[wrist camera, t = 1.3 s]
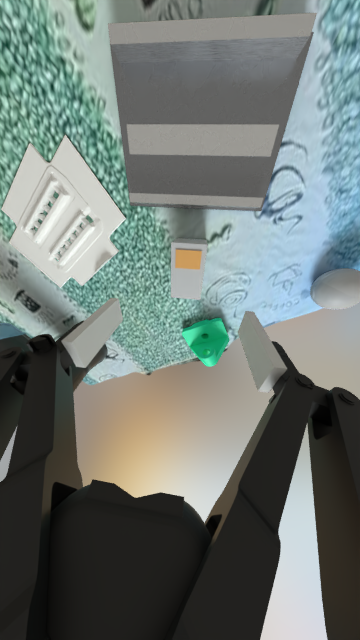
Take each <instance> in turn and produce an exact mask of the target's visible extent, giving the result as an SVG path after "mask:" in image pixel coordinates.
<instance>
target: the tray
mask: <svg viewBox="0 0 360 640" xmlns="http://www.w3.org/2000/svg"><path fill="white" fill-rule="evenodd" d="M55 191H56V192H57V193H58V194H59V196H58V198H57V199H56V198H55V197H54V196H53V194H54V193H55ZM49 201H50V202H51V203H52V204H53V206H52V208H50V207H49V206H48V203H49ZM1 210H2V211H3V212H5V213H6V214H7V215H8V216H9V217H10V218H11V219H12V220H13V221H14V222H15V224H16V226H17V228H16V230H15V232H14V234H13V236H12V238H11V240H10V241H9V243H10V244H11V245H12V246H13V247H14V248H16V249H17V250H18V251H19V252H20V253H21V254H22V255H24V256H25V257H26V258H27V259H28V260H29V261H30V262H32V263H33V264H34V265H35V266H36V267H37V268H38V269H39V270H41V271H42V272H43V273H44V274H45V275H46V276H47V277H49V278H50V279H51V280H52V281H53V282H54V283H55V284H57V285H58V286H59V287H62V286H63V285H64V284H65V283H66V282H67V281H68V280H69V278H71V277H72V278H74V279H75V280H76V281H77V282H78V283H79V284H80V285H81V286H83V285H84V284H85V283H86V282H87V281H88V280H89V279H90V278H91V277H92V276H93V275H94V274H95V273H96V272H97V271H99V270H100V269H101V268H102V267H103V266H104V265H105V264H106V263H107V262H108V261H109V260H110V259H111V258H112V257H113V256H114V255H115V254H116V253H117V252H118V251H119V250H118V249H117V248H116V246H115V245H114V244H113V243H112V242H111V240H110V235H111V234H112V233H113V232H114V231H115V230H116V229H117V228H118V227H119V225H120V224H121V223H122V222H123V221H124V220H125V219H126V218H125V217H124V216H123V214H122V213H121V211H120V210H119V208H118V207H117V206H116V204H115V203H114V201H113V200H112V199H111V197H110V196H109V194H108V193H107V192H106V190H105V189H104V188H103V186H102V185H101V184H100V182H99V181H98V179H97V178H96V177H95V175H94V174H93V172H92V171H91V170H90V168H89V167H88V165H87V164H86V163H85V161H84V160H83V158H82V157H81V156H80V154H79V153H78V152H77V150H76V149H75V147H74V146H73V145H72V143H71V142H70V140H69V139H68V138H67V136H66V134H65V136H64V138H63V140H62V142H61V144H60V146H59V147H58V149H57V151H56V153H55V155H54V157H53V159H52V161H51V162H50V163H49V162H47V161H46V160H45V159H44V158H43V157H42V156H41V154H40V153H39V152H38V151H37V150H36V148H35V147H34V146H33V145H32V143H29V145H28V148H27V150H26V153H25V155H24V157H23V160H22V162H21V164H20V167H19V169H18V171H17V174H16V176H15V178H14V181H13V183H12V185H11V188H10V190H9V193H8V195H7V197H6V200H5V202H4V204H3V207H2V209H1ZM44 210H45V211H46V212H47V213H48V214H47V216H45V215H44V214H43V211H44ZM40 213H42V214H40ZM87 215H89V216H90V217H91V218H92V219H93V220H94V221H93V222H92V223H89V221H88V220H87V219H86V216H87ZM39 218H40V219H41V220H42V221H43V222H42V224H40V223H39V222H38V220H39ZM81 222H82V223H83V224H82V225H81V227H82V228H83V229H84V230H83V229H82V228H81V227H80V226H79V225H80V224H81ZM34 226H35V227H36V228H37V229H38V230H37V232H36V231H35V230H34ZM31 228H33V230H32V229H31ZM30 229H31V230H30ZM75 230H76V233H75V234H76V235H77V236H78V237H77V236H76V235H75V234H74V232H75ZM69 238H71V239H70V242H71V243H72V244H71V243H70V242H69V241H68V239H69ZM64 244H65V248H66V249H67V251H66V249H65V248H63V246H64ZM59 251H60V254H58V252H59ZM61 255H62V256H61ZM55 258H57V259H58V260H59V261H58V262H57V260H56V259H55Z"/></svg>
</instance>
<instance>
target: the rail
mask: <svg viewBox="0 0 360 640" xmlns="http://www.w3.org/2000/svg"><path fill="white" fill-rule="evenodd" d="M316 14H317V13H302V14H283V15H264V16H245V17H225V18H206V19H187V20H168V21H149V22H129V23H110V24H108V28H109V36H110V46H111V54H112V62H113V70H114V78H115V86H116V94H117V102H118V110H119V118H120V126H121V134H122V142H123V150H124V158H125V166H126V174H127V182H128V190H129V198H130V205H131V206H149V207H172V208H195V209H219V210H242V211H261V210H262V207H263V203H264V200H265V196H266V193H267V189H268V186H269V183H270V179H271V176H272V172H273V169H274V166H275V162H276V159H277V155H278V152H279V149H280V145H281V142H282V138H283V135H284V131H285V128H286V125H287V121H288V118H289V114H290V111H291V108H292V104H293V101H294V97H295V94H296V91H297V87H298V84H299V80H300V77H301V73H302V70H303V67H304V63H305V60H306V56H307V53H308V50H309V46H310V43H311V39H312V36H313V33H314V32H311V31H312V28H313V25H314V21H315V18H316Z"/></svg>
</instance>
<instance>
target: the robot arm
mask: <svg viewBox="0 0 360 640" xmlns="http://www.w3.org/2000/svg"><path fill="white" fill-rule="evenodd" d="M122 321H123V317H122V313H121V309H120V304H119V300H118V299H117V298H111V299H109V300H108V301H107V302H106V303H105V304H104V305H102V306H101V307H100V308H99V309H98V310H97V311H96V312H94V313H93V314H92V315H91V316H90V317H89V318H87V319H86V320H85V321H82V322H80V323H78V324H76V325H75V326H74V327H72V329H70V330H69V331H68V332H66V333H65V334H64V335H63V336H62V337H60V338H59V339H58V340H57V341H56V342H55V341H54V339H53V338H52V336H51V335H49V334H42V335H38V336H36V337H34V338H32V339H31V338H30V337H29V336H27V335H26V333H24V332H22V331H21V330H19V329H18V328H16V327H15V326H14V325H12V324H9V323H0V460H1V458H2V456H3V454H4V452H5V450H6V448H7V446H8V443H9V441H10V439H11V437H12V435H13V433H14V431H15V429H16V427H17V431H16V435H15V440H14V445H13V450H12V454H11V459H10V464H9V468H8V473H7V476H6V477H5V479H4V480H3V481H1V482H0V640H260V637H261V633H262V629H263V624H264V620H265V616H266V612H267V607H268V603H269V600H270V595H271V591H272V587H273V583H274V579H275V575H276V571H277V567H278V563H279V557H280V539H279V535H278V529H279V524H280V520H281V517H282V513H283V509H284V505H285V502H286V498H287V495H288V491H289V487H290V483H291V480H292V476H293V472H294V469H295V465H296V461H297V457H298V454H299V450H300V447H301V443H302V439H303V435H304V432H305V428H306V425H307V423H308V434H309V447H310V458H311V471H312V483H313V494H314V506H315V519H316V530H317V542H318V555H319V566H320V579H321V591H322V601H323V609H324V618H325V626H326V633H327V638H328V640H360V400H359V399H358V398H357V397H356V396H355V395H353V394H352V393H351V392H349V391H347V390H345V389H343V388H339V387H334V388H333V389H332V390H330V391H329V390H326V389H324V388H321V387H318V386H315V385H314V383H313V382H312V381H311V380H310V379H309V378H308V377H306V376H305V375H302V374H300V373H299V372H298V371H297V369H296V368H295V366H294V364H293V363H292V361H291V360H290V358H289V357H288V356H287V354H286V353H285V351H284V349H283V348H282V346H281V345H279V344H278V343H277V342H273V341H271V340H270V339H269V337H268V335H267V334H266V332H265V330H264V328H263V327H262V325H261V323H260V322H259V320H258V318H257V317H256V315H255V313H254V312H251V311H246V312H245V314H244V317H243V320H242V323H241V325H240V328H239V331H238V334H239V337H240V340H241V343H242V346H243V349H244V352H245V355H246V358H247V361H248V363H249V366H250V369H251V372H252V375H253V378H254V381H255V384H256V387H257V390H258V391H261V392H270V391H271V389H272V388H273V390H274V393H275V394H274V395H273V396H272V398H271V399H270V400H269V404H268V406H267V408H266V410H265V412H264V414H263V416H262V418H261V420H260V422H259V424H258V425H257V427H256V429H255V431H254V433H253V435H252V437H251V439H250V441H249V443H248V445H247V447H246V449H245V450H244V452H243V454H242V456H241V458H240V460H239V462H238V464H237V466H236V468H235V470H234V471H233V474H232V475H231V477H230V479H229V481H228V483H227V485H226V487H225V489H224V491H223V492H222V494H221V495H220V497H219V498H218V500H217V501H216V503H215V505H214V506H213V508H212V510H211V512H210V514H209V516H208V518H207V520H206V521H205V523H204V522H203V521H202V519H201V517H200V516H199V514H198V513H197V512H196V511H195V509H194V508H193V507H191V506H190V505H189V504H188V503H187V502H185V501H184V497H181V496H176V495H171V494H165V493H157V494H152V495H147V496H143V497H138V498H134V497H133V496H131V495H130V494H128V493H127V492H126V491H124V490H123V489H121V488H120V487H118V486H117V485H116V484H114V483H108V482H103V481H98V480H92V482H91V484H90V485H88V486H85V487H83V484H82V477H81V473H80V470H79V468H78V464H77V449H76V432H75V417H74V416H75V415H74V400H73V392H74V391H75V389H76V388H77V386H78V385H79V384H80V383H81V381H82V380H83V378H84V377H85V376H86V374H87V373H88V372H89V371H90V370H91V369H92V368H93V367H95V366H96V365H97V364H98V363H100V362H101V361H103V359H104V358H105V357H106V355H107V348H106V346H105V342H106V341H107V340H108V339H109V337H110V336H111V335H112V333H113V332H114V331H115V330H116V328H117V327H118V326H119V325H120V323H121V322H122ZM17 425H18V426H17Z"/></svg>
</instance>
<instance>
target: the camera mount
mask: <svg viewBox="0 0 360 640" xmlns="http://www.w3.org/2000/svg"><path fill="white" fill-rule="evenodd" d="M205 333H206V334H205ZM182 335H183V337H184V339H185V340H186V342H187V343H188V345H189V347H190V348H191V350H192V351H193V352H194V353H195V355H196V356H197V357H198V358H199V359H200V360H201V361H202V362H203V364H204V365H206V366H214V365H215V364H216V363H217V362H218V360H219V358H220V357H221V355H222V353H223V351H224V349H225V347H226V346H227V344H228V342H229V336H228V334H227V331H226V329H225V326H224V324H223V321H222V319H221V318H215V319H212V320H208V319H206V320H203V321H200V322H197V323H194V324H193V326H190V327H187V328H184V329H183V331H182Z"/></svg>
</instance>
